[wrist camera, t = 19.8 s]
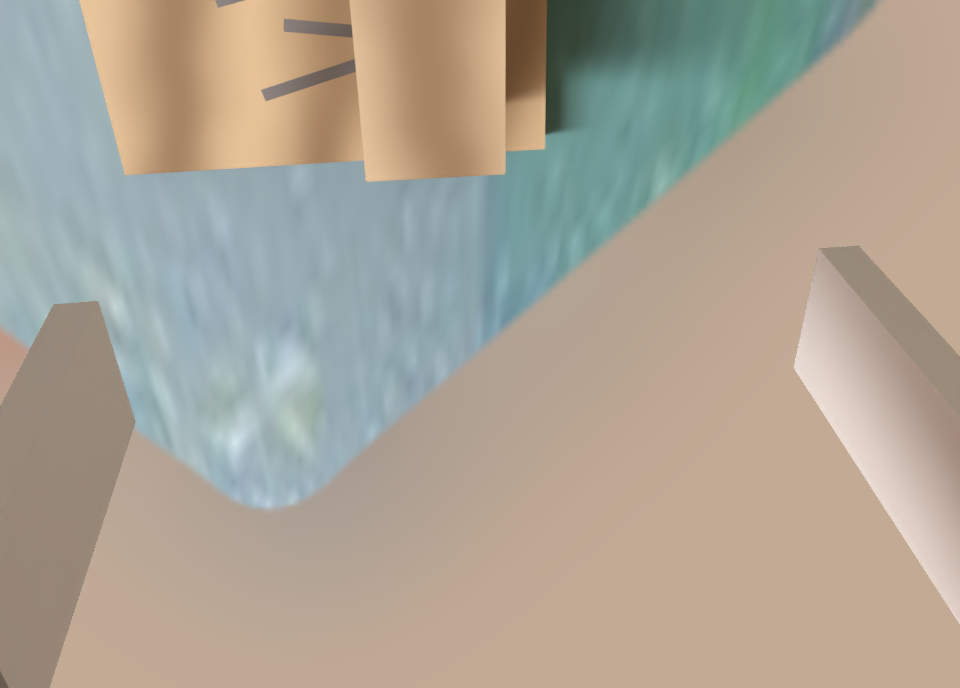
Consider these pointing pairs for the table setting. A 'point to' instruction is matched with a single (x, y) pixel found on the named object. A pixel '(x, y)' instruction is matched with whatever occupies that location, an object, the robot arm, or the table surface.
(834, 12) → the table surface
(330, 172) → the table surface
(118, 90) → the board
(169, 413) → the table surface
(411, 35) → the block
